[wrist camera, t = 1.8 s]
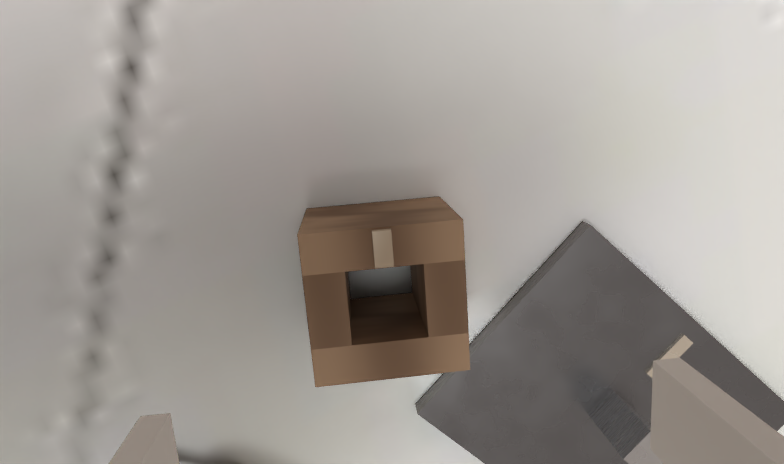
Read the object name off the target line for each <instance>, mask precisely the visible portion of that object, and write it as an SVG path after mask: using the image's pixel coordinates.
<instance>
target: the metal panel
mask: <svg viewBox="0 0 784 464" xmlns="http://www.w3.org/2000/svg"><path fill="white" fill-rule="evenodd" d="M469 355H470V370H465V371H456V372H447V373H444V374H443V375H442V376H441V377H440V378H439V379H438V380H437V381H436V382H435V384H434V385H433V386H432V387H431V388H430V389H429V390H428V391H427V392H426V393H425V394H424V396H423V397H422V398H421V399H420V400H419V401H418V402H417V403H416V404H415V405H416V409H417V413H418V415H420V416H421V417H423V418H424V419H425V420H427V421H428V422H429V423H431V424H432V425H433V426H435V427H436V428H437V429H439V430H440V431H441V432H443V433H444V434H446V435H447V436H448V437H450V438H451V439H452V440H454V441H455V442H456V443H458V444H459V445H460V446H462V447H463V448H465V449H466V450H467V451H469V452H470V453H471V454H473V455H474V456H475V457H477V458H478V459H479V460H481V461H482V462H483V463H485V464H663V463H662V461H661V460H660V459H659V458H658V457H657V456H656V455H655V453H654V452H653V451H652V450H651V449H650V436H651V407H652V377H653V360H662V359H672V358H681V359H682V360H684V361H685V362H686V363H688V364H689V365H690V366H691V367H693V368H694V369H695V370H697V371H698V372H699V373H701V374H702V375H703V376H705V377H706V378H707V379H709V380H710V381H711V382H712V383H714V384H715V385H716V386H718V387H719V388H720V389H722V390H723V391H724V392H726V393H727V394H728V395H730V396H731V397H732V398H734V399H735V400H736V401H737V402H739V403H740V404H741V405H743V406H744V407H745V408H747V409H748V410H749V411H751V412H752V413H753V414H755V415H756V416H757V417H759V418H760V419H761V420H762V421H764V422H765V423H766V424H768V425H769V426H770V427H772V428H773V429H774V430H776V431H778V430H779V429H780V428H781V427H782V426H783V425H784V401H783V400H781V399H780V398H779V397H778V396H777V395H776V394H775V393H774V392H773V391H772V390H771V389H769V388H768V387H767V386H766V385H765V384H764V383H763V382H762V381H761V380H760V379H758V378H757V377H756V376H755V375H754V374H753V373H752V372H751V371H750V370H749V369H748V368H746V367H745V366H744V365H743V364H742V363H741V362H740V361H739V360H738V359H737V358H735V357H734V356H733V355H732V354H731V353H730V352H729V351H728V350H727V349H726V348H725V347H723V346H722V345H721V344H720V343H719V342H718V341H717V340H716V339H715V338H714V337H712V336H711V335H710V334H709V333H708V332H707V331H706V330H705V329H704V328H703V327H701V326H700V325H699V324H698V323H697V322H696V321H695V320H694V319H693V318H692V317H691V316H689V315H688V314H687V313H686V312H685V311H684V310H683V309H682V308H681V307H680V306H678V305H677V304H676V303H675V302H674V301H673V300H672V299H671V298H670V297H669V296H668V295H666V294H665V293H664V292H663V291H662V290H661V289H660V288H659V287H658V286H657V285H655V284H654V283H653V282H652V281H651V280H650V279H649V278H648V277H647V276H646V275H645V274H643V273H642V272H641V271H640V270H639V269H638V268H637V267H636V266H635V265H634V264H632V263H631V262H630V261H629V260H628V259H627V258H626V257H625V256H624V255H623V254H622V253H620V252H619V251H618V250H617V249H616V248H615V247H614V246H613V245H612V244H611V243H609V242H608V241H607V240H606V239H605V238H604V237H603V236H602V235H601V234H600V233H599V232H597V231H596V230H595V229H594V228H593V227H592V226H591V225H589V224H587V223H585V222H583V221H582V222H581V224H580V225H579V226H578V227H577V228H576V229H575V230H574V231H573V232H572V233H571V235H570V236H569V237H568V238H567V239H566V240H565V241H564V242H563V243H562V244H561V245H560V247H559V248H558V249H557V250H556V251H555V252H554V253H553V254H552V255H551V256H550V258H549V259H548V260H547V261H546V262H545V263H544V264H543V265H542V266H541V267H540V268H539V270H538V271H537V272H536V273H535V274H534V275H533V276H532V277H531V278H530V279H529V281H528V282H527V283H526V284H525V285H524V286H523V287H522V288H521V289H520V290H519V291H518V293H517V294H516V295H515V296H514V297H513V298H512V299H511V300H510V301H509V302H508V304H507V305H506V306H505V307H504V308H503V309H502V310H501V311H500V312H499V313H498V314H497V316H496V317H495V318H494V319H493V320H492V321H491V322H490V323H489V324H488V325H487V327H486V328H485V329H484V330H483V331H482V332H481V333H480V334H479V335H478V336H477V337H476V339H475V340H474V341H473V342H472V343H471V344H470V345H469Z"/></svg>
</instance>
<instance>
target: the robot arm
mask: <svg viewBox="0 0 784 464" xmlns="http://www.w3.org/2000/svg"><path fill="white" fill-rule="evenodd" d="M650 449H651V450H652V451H653V452H654V453H655V455H656V456H657V457H658V458H659V459H660V460H661V461H662V463H663V464H784V436H782V435H781V434H780V433H778V432H777V431H776V430H774V429H773V428H772V427H770V426H769V425H768V424H766V423H765V422H764V421H762V420H761V419H760V418H759V417H757V416H756V415H755V414H753V413H752V412H751V411H749V410H748V409H747V408H745V407H744V406H743V405H741V404H740V403H739V402H737V401H736V400H735V399H734V398H732V397H731V396H730V395H728V394H727V393H726V392H724V391H723V390H722V389H720V388H719V387H718V386H716V385H715V384H714V383H712V382H711V381H710V380H709V379H707V378H706V377H705V376H703V375H702V374H701V373H699V372H698V371H697V370H695V369H694V368H693V367H691V366H690V365H689V364H688V363H686V362H685V361H684V360H682V359H681V358H672V359H662V360H653V377H652V407H651V436H650ZM109 464H179V458H178V453H177V448H176V442H175V437H174V432H173V426H172V421H171V415H170V413H166V414H157V415H148V416H140V418H139V419H138V421H137V422H136V424H135V425H134V427H133V428H132V430H131V431H130V433H129V434H128V436H127V437H126V439H125V440H124V442H123V443H122V445H121V446H120V448H119V449H118V451H117V452H116V454H115V455H114V457H113V458H112V460H111V461H110V463H109Z"/></svg>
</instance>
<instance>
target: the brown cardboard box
mask: <svg viewBox="0 0 784 464" xmlns="http://www.w3.org/2000/svg"><path fill="white" fill-rule="evenodd" d="M297 236H298V245H299V253H300V262H301V270H302V278H303V287H304V295H305V303H306V312H307V320H308V329H309V337H310V345H311V354H312V362H313V370H314V379H315V387H322V386H331V385H339V384H348V383H357V382H366V381H375V380H384V379H393V378H402V377H411V376H420V375H429V374H438V373H447V372H456V371H465V370H470V355H469V334H468V313H467V292H466V271H465V251H464V230H463V219H462V218H461V217H460V216H459V215H458V214H457V213H456V212H455V211H454V210H453V209H452V208H451V207H450V206H449V205H448V204H447V203H446V202H444V201H443V200H442V199H441V198H440V197H428V198H417V199H406V200H395V201H384V202H373V203H362V204H351V205H340V206H329V207H318V208H307V209H306V212H305V214H304V217H303V220H302V223H301V226H300V229H299V231H298V234H297ZM409 265H410V268H411V282H412V293H405V294H395V295H385V296H375V297H365V298H356V299H350V290H349V280H348V271H358V270H368V269H378V268H389V267H399V266H409Z"/></svg>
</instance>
